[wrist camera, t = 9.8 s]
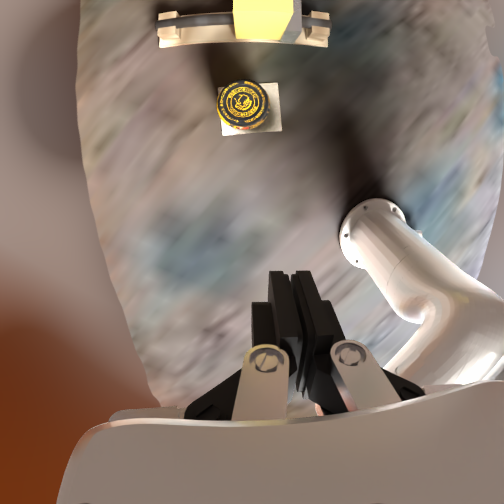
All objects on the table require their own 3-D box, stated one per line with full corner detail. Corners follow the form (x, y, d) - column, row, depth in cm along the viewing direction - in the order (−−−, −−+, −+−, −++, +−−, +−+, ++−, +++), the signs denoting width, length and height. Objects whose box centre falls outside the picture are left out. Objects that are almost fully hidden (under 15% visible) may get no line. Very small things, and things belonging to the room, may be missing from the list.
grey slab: (293, 13, 29) (300, -3, 24) (293, 43, 32) (301, 31, 26) (279, 11, 29) (284, -4, 24) (279, 42, 32) (285, 30, 26)
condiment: (217, 87, 35) (206, 75, 25) (277, 82, 35) (290, 68, 24) (222, 135, 39) (214, 141, 28) (281, 130, 38) (296, 134, 28)
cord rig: (325, 19, 30) (335, 9, 26) (326, 47, 32) (336, 39, 28) (162, 20, 30) (152, 9, 25) (160, 48, 32) (150, 40, 27)
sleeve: (280, 10, 29) (292, -23, 18) (280, 39, 31) (293, 12, 21) (236, 9, 28) (234, -25, 18) (236, 38, 31) (232, 10, 20)
